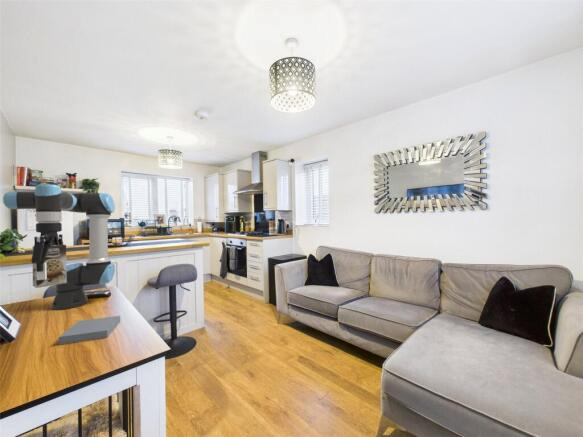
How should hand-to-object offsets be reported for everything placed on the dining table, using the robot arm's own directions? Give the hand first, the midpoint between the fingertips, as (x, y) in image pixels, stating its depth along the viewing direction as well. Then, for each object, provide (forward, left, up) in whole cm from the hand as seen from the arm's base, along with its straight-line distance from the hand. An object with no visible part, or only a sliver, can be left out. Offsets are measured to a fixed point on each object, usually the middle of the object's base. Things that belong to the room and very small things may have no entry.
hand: (50, 276), depth 100 cm
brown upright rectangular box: (0, 0, -4) cm, 4 cm away
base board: (-1, +14, -26) cm, 29 cm away
